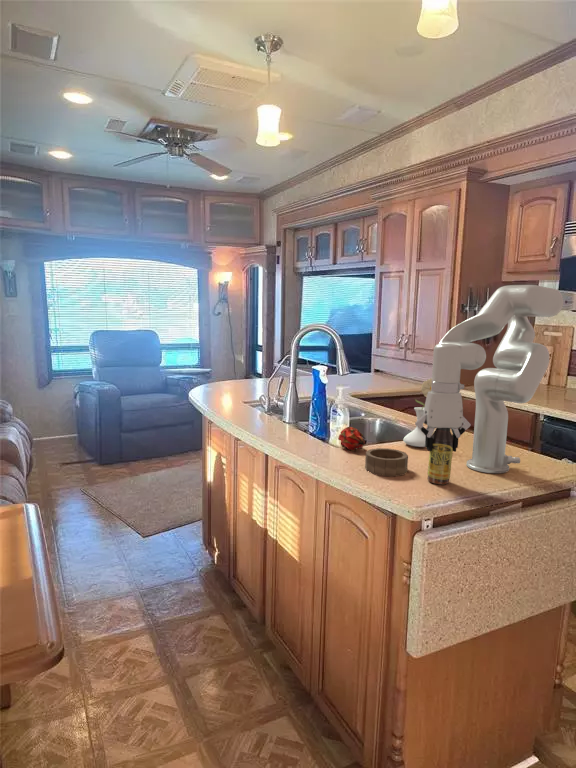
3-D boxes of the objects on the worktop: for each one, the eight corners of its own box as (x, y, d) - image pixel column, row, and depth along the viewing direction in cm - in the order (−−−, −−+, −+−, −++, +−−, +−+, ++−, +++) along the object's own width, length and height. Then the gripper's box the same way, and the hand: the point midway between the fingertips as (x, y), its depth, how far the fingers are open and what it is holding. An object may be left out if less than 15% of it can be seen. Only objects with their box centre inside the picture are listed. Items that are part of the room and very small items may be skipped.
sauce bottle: (426, 483, 143) (429, 415, 140) (428, 477, 148) (431, 411, 145) (450, 486, 140) (454, 417, 137) (451, 480, 146) (455, 413, 143)
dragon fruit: (342, 448, 184) (361, 461, 174) (328, 437, 180) (346, 450, 169) (356, 429, 184) (376, 441, 174) (342, 418, 180) (361, 430, 170)
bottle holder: (400, 463, 161) (401, 448, 160) (411, 476, 149) (412, 460, 148) (362, 463, 161) (363, 448, 160) (369, 475, 149) (370, 459, 148)
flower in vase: (401, 447, 180) (405, 379, 177) (404, 440, 191) (407, 375, 187) (439, 451, 176) (444, 381, 173) (439, 443, 187) (444, 377, 184)
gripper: (470, 386, 144) (466, 447, 147) (411, 385, 144) (407, 446, 146) (481, 390, 137) (476, 454, 139) (418, 389, 136) (414, 453, 139)
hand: (441, 449), depth 143 cm, fingers closed on sauce bottle, 6 cm apart
